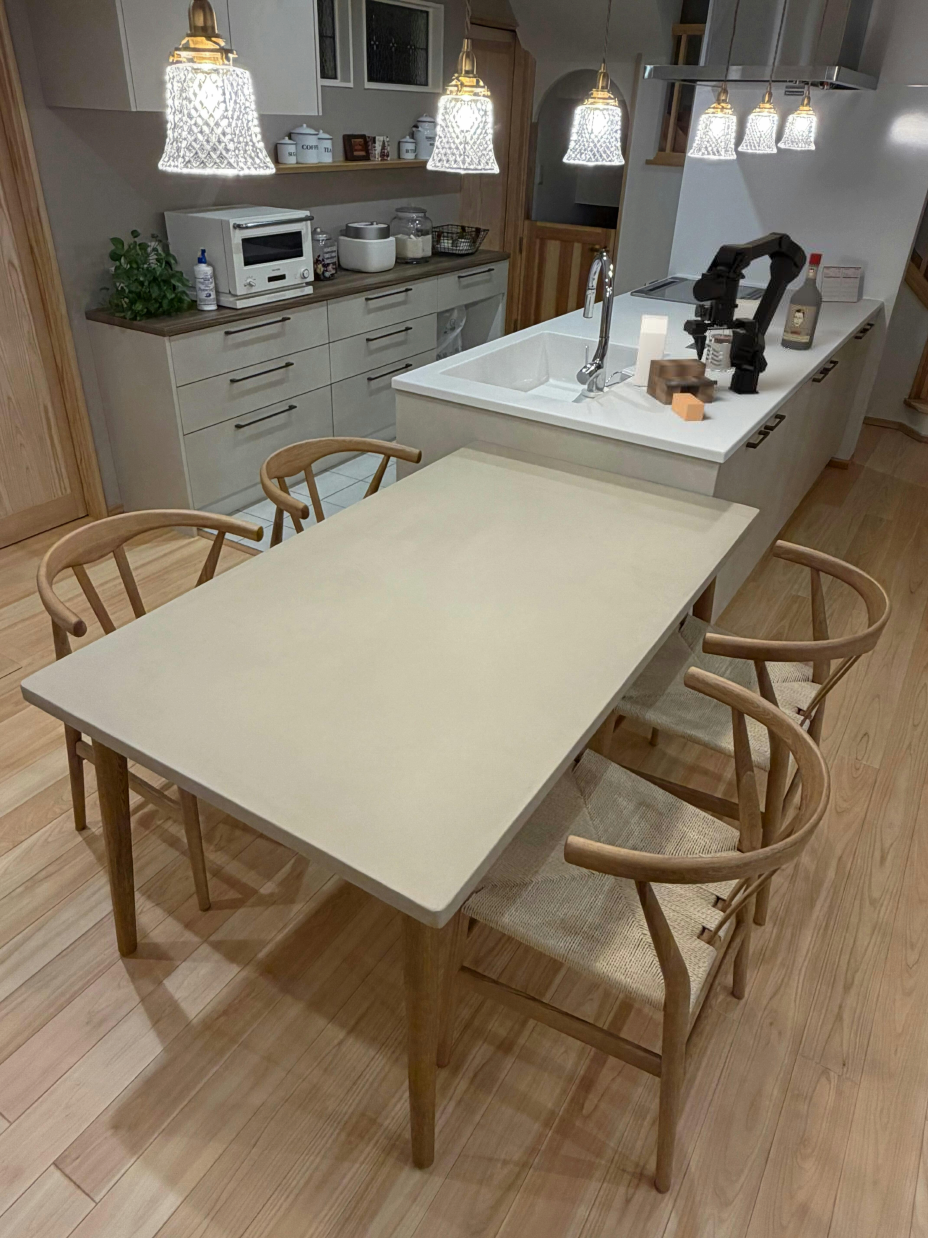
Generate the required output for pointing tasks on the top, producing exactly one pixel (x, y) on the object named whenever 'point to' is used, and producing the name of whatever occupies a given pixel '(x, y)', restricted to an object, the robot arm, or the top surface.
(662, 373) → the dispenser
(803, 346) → the liquor
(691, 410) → the orange rectangular block
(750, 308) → the supplement box
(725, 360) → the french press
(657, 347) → the milk carton
